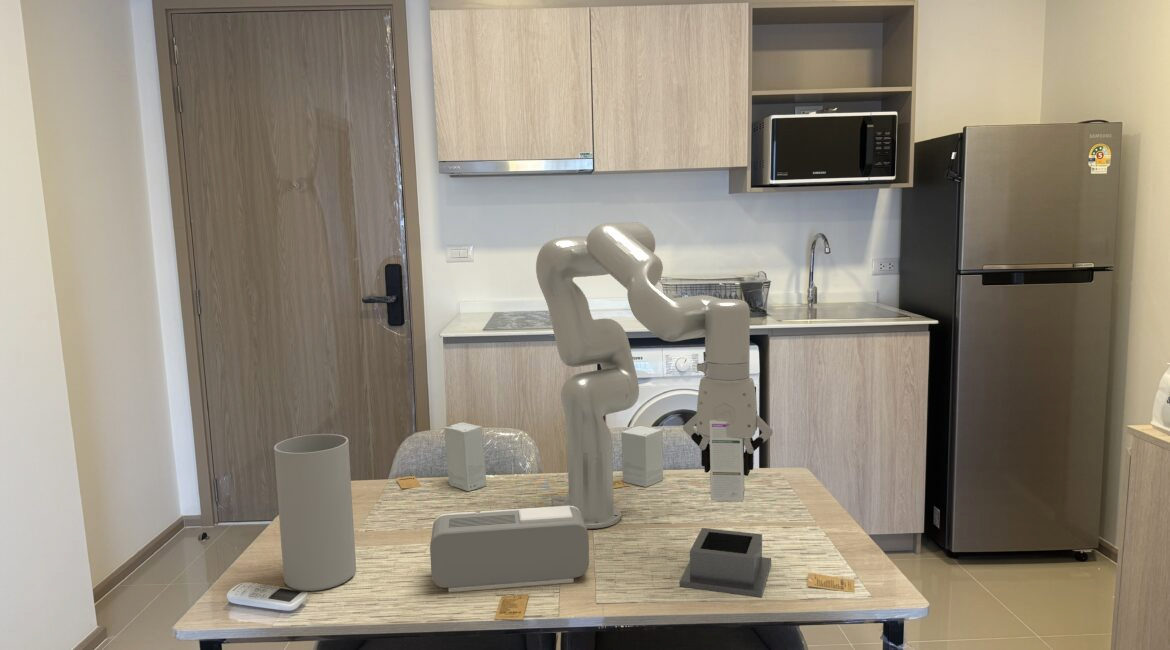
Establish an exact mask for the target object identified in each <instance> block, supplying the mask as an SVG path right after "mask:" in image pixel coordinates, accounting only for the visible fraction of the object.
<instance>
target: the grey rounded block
mask: <svg viewBox="0 0 1170 650" xmlns="http://www.w3.org/2000/svg"><path fill="white" fill-rule="evenodd" d="M588 532H589V531H588V529H587V528H586V525H585V523H584V520H583V517H582V514H581V512H580V511H579V509H578V508H576V507H574V506H555V507H553V506H543V507H527V508H515V509H514V508H512V509H499V510H498V509H497V510H481V511H479V513H478V512H476V511H470V512H469V511H468V512H466V511H465V512H453V513H451V512H450V513H443V514H440V515H439V516H438V517H436V518H435V519H434V521H433V525H432V530H431V536H430V545H429V554H430V556H429V557H430V571H431V572H430V575H431V579H432V582H433V583H434V584H435V586H438V587H440V588H447V589H448V593H452V592H453V593H454V592H467V591H480V590H482V591H483V590H492V589H495V590H496V589H505V588H518V587H519V588H520V587H531V586H543V585H545V586H546V585H554V584H555V585H556V584H567V583H568V584H569V583H570V584H571V583H574V582H575V581H574V579H576V578H578V577H579V578H580V577H582V576H583V575H585V574H586V573H587V571H588V570H589V565H590V550H589V549H590V548H589V546H590V545H589V544H590V543H589V542H590V541H589V536H590V535H589V533H588Z"/></svg>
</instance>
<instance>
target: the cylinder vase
mask: <svg viewBox="0 0 1170 650" xmlns="http://www.w3.org/2000/svg"><path fill="white" fill-rule="evenodd" d="M349 446H350V445H349V438H348V437H347V436H344V435H341V434H334V433H318V434H317V433H315V434H307V435H300V436H295V437H291V438H290V437H289V438H288V439H285V440H281V441H280V442H277V443H276V444H274V446H273V451H274V452H273V453H274V463H275V464H274V465H275V478H276V491H277V493H276V494H277V503H278V505H277V507H278V517H279V521H278V522H279V531H280V532H279V533H280V543H281V544H280V547H281V559H282V573H283V581H284V583H285V584H286V585H287V586H288V587H289V588H290V589H293V590H296V591H297V590H298V591H302V592H303V591H304V592H313V591H314V592H316V591H322V590H328V589H331V588H335V587H337V586H340V585H343V584H344V583H346V582H347V581H349V580H351V578H353V576H354V575H355V573H356V571H357V562H356V561H357V560H356V543H355V526H354V513H353V511H354V510H353V498H352V497H353V496H352V495H353V493H352V492H353V491H352V479H351V476H352V475H351V464H350V462H351V461H350V447H349Z"/></svg>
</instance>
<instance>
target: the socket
mask: <svg viewBox="0 0 1170 650" xmlns="http://www.w3.org/2000/svg"><path fill="white" fill-rule="evenodd" d="M771 565H772V558H771V557H765V556H763V534H762V533H753V532H743V531H733V530H727V529H726V530H725V529H717V528H716V529H715V528H707V527H702V528H701V529H700V531H699V533H698V534H697V537H696V538H695V541H694V542H693V544H692V546H691V547H690V550H689V562H688V563H687V566H686V568H685V570H684V572H683V573H682V575H681V577H680V579H679V587H680V588H681V587H682V588H687V589H696V590H703V591H705V590H706V591H710V592H711V591H713V592H717V593H718V592H719V593H727V594H734V595H742V596H750V597H757V598H762V597H763V594H764V590H765V587H766V583H767V580H768V576H769V573H770V569H771Z"/></svg>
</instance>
